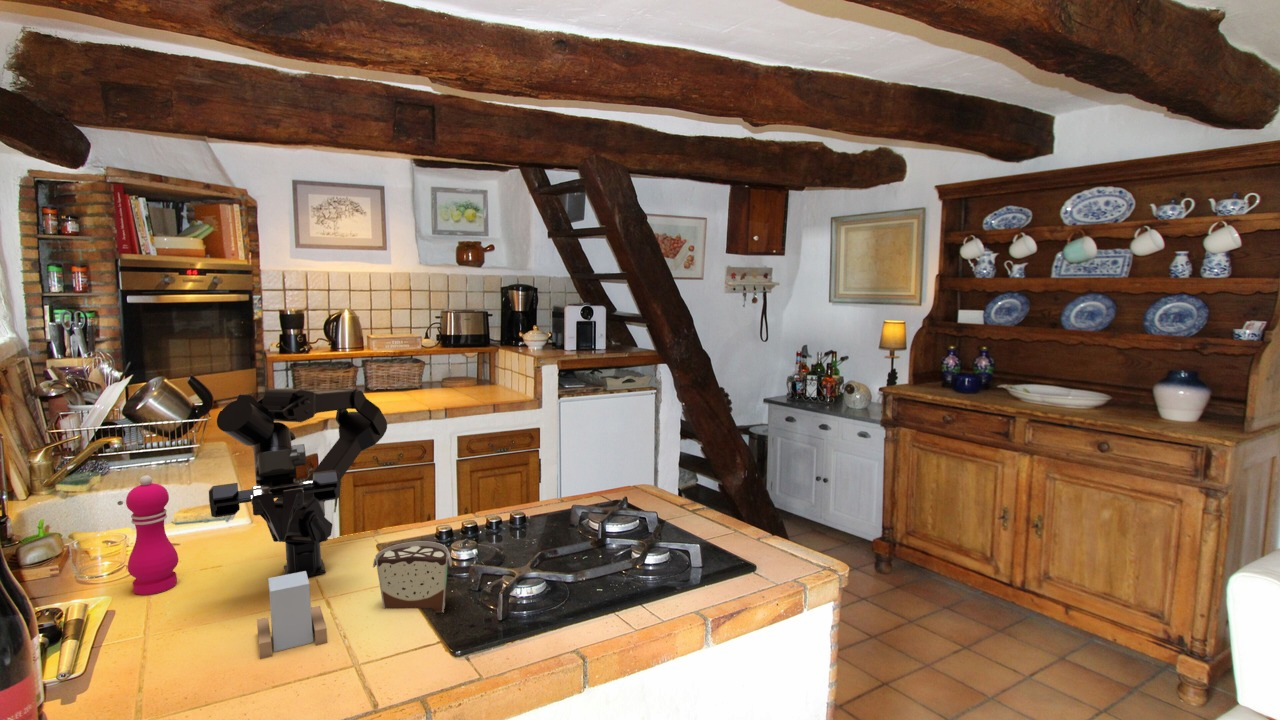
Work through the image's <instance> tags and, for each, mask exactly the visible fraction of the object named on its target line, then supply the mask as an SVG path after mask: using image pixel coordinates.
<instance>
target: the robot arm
mask: <svg viewBox="0 0 1280 720" xmlns="http://www.w3.org/2000/svg"><path fill="white" fill-rule="evenodd" d="M264 393H265V394H264V395H263V396H262V397H260V398H258V399H256V398H255V397H254V396H252V394H247V393H246V394H241V393H240V394H238V396H237V398H236V400H234V401H231V402H229V403H228V404H226V406H224V407H223V408H222V409H221V410H220V411H219V413H218V414H217V417H216V425H217V427H218V429H219V430H221V431H222V432H224V433H225V434H226V435H229V437H231V438H233V439H234V440H236V441H238V442H239V443H241V444H243V445H244V446H246V447H247V446H249V447H251V446H253V460H254V473H255V484H256V486H252V487H251V488H250V489H245V490H243V489H242V490H239V485H238V482H233V483H225V484H217V485H212V487H211V488H210V489H209V490H208V502H209V510H210V515H211V517H212V518H220V517H221V518H222V517H228V516H235V515H236V514H237V513H238V512H239V511H240V510H241V508H240V504H243V503H244V504H246V503H250V502H251V506H252V515H253V516H260V517H261V518H262V519H263V520H264V521H265V523H266V525H267V528H268V531H269V532H270V533H269V534H270V535H271V538H272V540H273V543H274V542H276V543H277V542H279V543H281V542H282V543H284V545H285V556H286V557H285V558H286V560H285V561H286V564H285V565H284V566H283V572H284V575H287V574H293V573H298V572H303V571H306V573H307V577H312V576H318V575H323V574H326V572H327V570H326V567H325V563H324V560H323V558H322V551H321V550H322V549H321V543H324V542H327V541H328V540H329V538H330V537H331V536H332V531H333V523H332V522H331V521H330V520H329V519H328V518H326V511H325V509H326V508H325V503H326V502H327V501H334V500H337V499H339V498H340V494H341V485H342V481H341V480H342V478H343V477H344V476H345V474H346V473H347V472H348V470H349V469H350V467H351V466H352V465H353V463H354V462H355V460H356V459H357V457H359V455H360V453H362V452H363V451H365V450H367V449H370V448H372V447H374V446H375V445H377V444H378V442H379V441H380V440H381V439H383V437H384V435H385V434H386V431H387V429H388V421H387V419H386V418H385V415H384V414H383V411H381V408H380V407H379V406H377V405H376V404H375V403H373V402H372V401H371V400H369V398H367V397H366V396H365V394H364V392H363V391H362V390H360V389H357V388H339V389H335V390H333V389H332V390H323V391H313V390H308V389H307V390H306V389H297V388H295V389H293V388H269V389H267V390H266V391H265V392H264ZM349 409H350V410H356V411H348V410H349ZM334 411H336V414H335V422H336V424H337V425H338V437H339V438H338V439H337V440H336V442H335V443H334V444H333V446H332V447H331V448H330V450H329V451H328V452H327V454H326V455H325V456H324V457H323V458H322V460H321V461H320V463H319V464H318V465H317V466H316V468H315V469H314V470H313V471H312V473H311V474H310V475H309V477H308V478H307V479H306V480H305V481H302V482H296V481H297V480H296V479H297V478H298V477H297V476H298V475H297V467H298V466H305V465H306V464H307V455H306V454H307V453H306V448H305V444H304V443H302V444H300V443H299V444H292V441H294V440H296V439H297V438H296V435H295V434H294V432H292V431H291V429H290V428H289V427H288V426H287V425H286V424H284V422H285V423H286V422H287V423H303V422H305V421H308V420H311V419H313V418H314V417H315V414H316V415H317V414H319V413H327V412H334ZM282 422H283V423H282ZM275 499H276V500H275Z"/></svg>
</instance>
